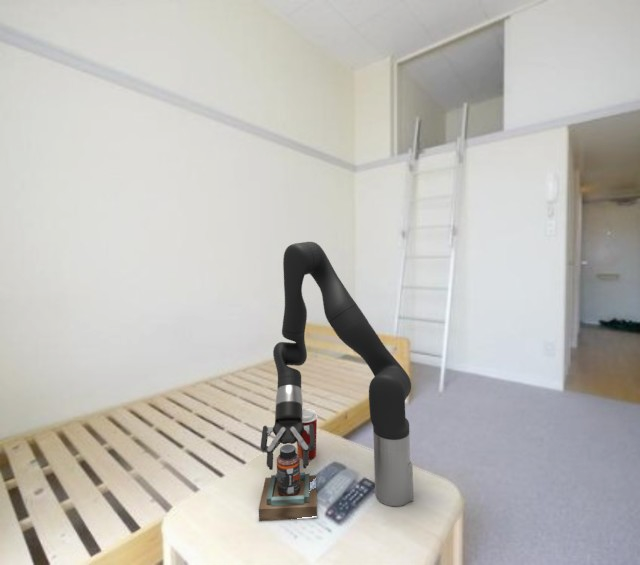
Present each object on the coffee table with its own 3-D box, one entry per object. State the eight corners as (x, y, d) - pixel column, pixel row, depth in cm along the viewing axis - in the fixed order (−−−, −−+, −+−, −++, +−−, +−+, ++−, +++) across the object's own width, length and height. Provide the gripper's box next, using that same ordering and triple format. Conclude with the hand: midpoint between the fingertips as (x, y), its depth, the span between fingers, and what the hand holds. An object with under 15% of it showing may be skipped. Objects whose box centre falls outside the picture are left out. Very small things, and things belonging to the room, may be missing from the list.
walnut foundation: (316, 485, 95) (316, 470, 95) (317, 518, 83) (316, 500, 83) (266, 488, 95) (265, 472, 94) (259, 521, 83) (258, 503, 82)
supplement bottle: (297, 499, 85) (295, 455, 85) (274, 497, 86) (272, 453, 86) (303, 484, 91) (301, 442, 90) (281, 481, 92) (280, 441, 92)
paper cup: (323, 452, 111) (322, 410, 110) (310, 465, 104) (308, 420, 103) (303, 446, 115) (302, 405, 114) (290, 458, 109) (288, 415, 108)
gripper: (262, 401, 94) (257, 466, 84) (313, 398, 95) (315, 463, 84) (265, 411, 100) (261, 473, 89) (314, 409, 100) (316, 470, 90)
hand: (287, 468), depth 87 cm, fingers open, 8 cm apart
